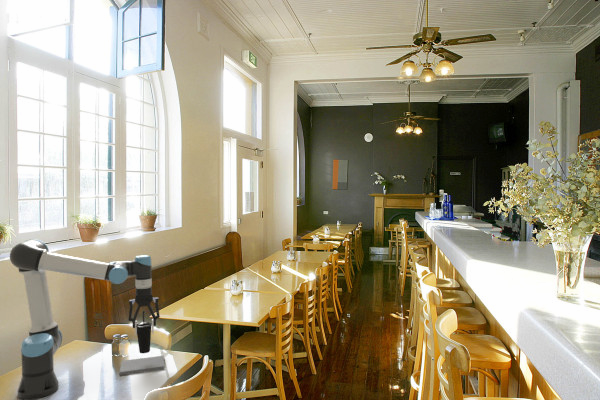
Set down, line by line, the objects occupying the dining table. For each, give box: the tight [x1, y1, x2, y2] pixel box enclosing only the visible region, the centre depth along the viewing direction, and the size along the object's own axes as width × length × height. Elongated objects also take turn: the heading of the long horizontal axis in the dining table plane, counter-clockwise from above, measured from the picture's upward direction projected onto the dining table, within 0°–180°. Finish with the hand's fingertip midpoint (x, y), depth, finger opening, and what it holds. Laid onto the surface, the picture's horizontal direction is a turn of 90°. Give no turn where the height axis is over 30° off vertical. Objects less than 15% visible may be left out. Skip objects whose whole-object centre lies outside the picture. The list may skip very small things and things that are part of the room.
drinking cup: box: [136, 310, 152, 354], centre depth 210 cm, size 8×8×20 cm
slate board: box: [119, 355, 165, 376], centre depth 210 cm, size 20×14×2 cm
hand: (144, 333), depth 210 cm, fingers closed on drinking cup, 7 cm apart
